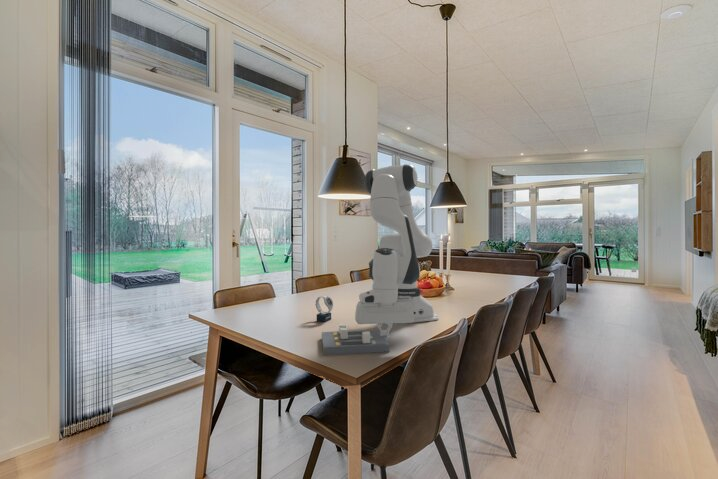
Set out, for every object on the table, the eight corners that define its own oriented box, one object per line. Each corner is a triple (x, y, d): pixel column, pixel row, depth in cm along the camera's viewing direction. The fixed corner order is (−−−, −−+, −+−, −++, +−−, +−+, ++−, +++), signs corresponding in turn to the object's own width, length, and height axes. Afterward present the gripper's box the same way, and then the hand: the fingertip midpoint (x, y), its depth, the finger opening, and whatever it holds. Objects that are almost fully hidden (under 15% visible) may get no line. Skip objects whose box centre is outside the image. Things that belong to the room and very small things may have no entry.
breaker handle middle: (346, 336, 128) (346, 327, 128) (347, 338, 125) (347, 329, 125) (340, 336, 128) (340, 328, 127) (340, 339, 125) (340, 330, 125)
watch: (328, 323, 155) (328, 298, 155) (313, 320, 159) (313, 296, 158) (335, 320, 160) (335, 295, 160) (319, 317, 164) (319, 294, 163)
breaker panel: (379, 336, 137) (379, 329, 137) (389, 351, 120) (389, 344, 120) (321, 338, 134) (321, 331, 134) (323, 355, 117) (323, 347, 117)
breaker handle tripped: (368, 340, 124) (368, 331, 123) (370, 343, 121) (370, 333, 121) (362, 340, 123) (362, 331, 123) (363, 343, 121) (363, 334, 120)
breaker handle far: (345, 332, 133) (345, 323, 133) (346, 334, 131) (346, 325, 131) (338, 332, 133) (338, 323, 133) (339, 334, 130) (339, 325, 130)
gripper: (411, 293, 127) (411, 332, 127) (354, 294, 124) (354, 333, 125) (416, 297, 121) (416, 337, 121) (357, 298, 118) (356, 339, 118)
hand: (384, 335), depth 123 cm, fingers closed
